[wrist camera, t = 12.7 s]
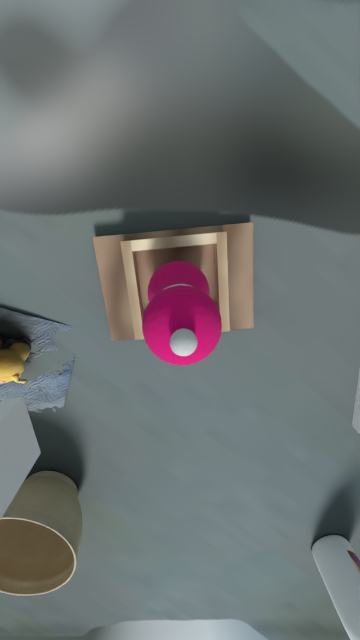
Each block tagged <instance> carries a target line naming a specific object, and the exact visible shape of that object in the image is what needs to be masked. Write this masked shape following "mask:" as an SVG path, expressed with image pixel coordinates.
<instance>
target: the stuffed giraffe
mask: <svg viewBox="0 0 360 640" xmlns="http://www.w3.org/2000/svg"><path fill="white" fill-rule="evenodd" d="M57 328H58V329H59V330H63V331H64V332H67V330H69V329H71V328H72V326H68V325H64V324H60V323H56V322H52V321H48V320H44V319H40V318H36V317H32V316H28V315H25V314H21V313H17V312H14V311H11V310H7V309H3V308H1V307H0V384H1V385H0V402H1V401H2V400H3V399H7V398H18V397H23V398H24V401H25V404H26V408H27V410H29V411H33V412H39V411H37V409H38V410H40V409H42V410H43V409H44V408H52V409H53V406H57V407H58V408H62V407H64V403H65V397H66V393H67V389H68V385H69V380H70V375H71V371H72V367H73V363H74V360H73V361H69V360H68V362H67V363H65V364H64V365H63V366H64V367H65V368H64V369H65V370H62V371H60V370H58V371H55V372H54V371H53V370H52V371H53V372H52V373H51V371H50V370H49V369H48V371H49V373H48V372H46V375H45V373H43V375H40V376H39V378H40V377H41V378H40V379H38V377H37V378H36V379H38V380H36V381H34V382H33V380H34V379H33V380H30V381H27V380H26V379H20V378H19V377H20V376H21V375H22V374H23V371H24V369H25V360H26V358H27V357H28V356H29V355H30V358H31V359H34V358H36V357H37V356H40V355H41V354H42V353H46V354H49V353H47V352H45V351H48V350H51V351H52V349H53V350H55V351H56V349H58V348H57V346H56V345H55V343H54V341H52V340H51V339H50V338H52V337H54V336H53V334H52V333H54V334H55V332H56V331H55V330H57ZM51 336H52V337H51ZM5 338H7V339H15V341H14V342H13V343H12V345H11V344H9V343H8V342H7V341H6V340H5ZM23 338H25V339H27V340H29V341H30V342H31V343H34V344H37V343H38V345H41V347H39V348H41V349H40V350H38V352H37V353H30V350H31V347H30V345H29V343H28V342H27V341H25V340H24V339H23ZM74 344H75V343H74ZM38 345H37V346H38ZM55 348H56V349H55ZM42 351H44V352H42ZM38 353H39V354H38ZM37 354H38V355H37ZM72 358H75V354H74V353H73V356H72ZM29 362H31V361H29ZM31 381H32V382H31ZM16 382H18V383H16ZM22 383H23V384H22ZM34 383H36V384H34ZM45 383H46V384H47V386H45ZM32 384H34V385H32ZM41 384H43V385H41ZM24 385H25V386H26V387H25V386H24ZM38 385H39V386H41V389H43V388H42V387H43V386H44V387H45V388H44V389H43V392H42V391H39V389H37V386H38ZM21 386H22V387H21ZM29 387H30V388H31V389H32V390H31V391H32V392H28V390H29V391H30V389H28V388H29ZM33 387H34V388H35V390H33ZM24 388H25V389H24ZM37 391H39V392H37ZM24 392H25V393H24ZM41 392H42V393H41ZM44 392H46V393H45V394H44ZM53 411H54V412H55V411H56V409H53ZM39 413H42V412H39Z"/></svg>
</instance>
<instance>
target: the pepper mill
mask: <svg viewBox="0 0 360 640" xmlns="http://www.w3.org/2000/svg"><path fill="white" fill-rule="evenodd" d="M148 300H149V303H148V305H147V307H146V309H145V311H144V314H143V319H142V331H143V336H144V339H145V342H146V344H147V345H148V347H149V349H150V350H151V351H152V352H153V354H155V355H156V356H157V357H158V358H160V359H161V360H163V361H165V362H167V363H170V364H174V365H188V364H192V363H196V362H198V361H201V360H202V359H204V358H205V357H207V356H208V355H209V354H210V353H211V352H212V351H213V350H214V348H215V347H216V345H217V343H218V342H219V339H220V336H221V330H222V322H221V315H220V312H219V309H218V307H217V305H216V304H215V302H214V301H213V300H212V298H211V297H210V290H209V285H208V281H207V279H206V277H205V275H204V274H203V272H202V271H201V270H200V269H199V268H198V267H196V266H195V265H193V264H191V263H188V262H184V261H173V262H169V263H166V264H164V265H163V266H161V267H160V268H158V269H157V270H156V271H155V273H154V274H153V275H152V277H151V279H150V281H149V285H148Z"/></svg>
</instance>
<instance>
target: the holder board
mask: <svg viewBox="0 0 360 640" xmlns="http://www.w3.org/2000/svg"><path fill="white" fill-rule="evenodd" d="M93 242H94V248H95V253H96V259H97V264H98V270H99V275H100V280H101V286H102V291H103V297H104V302H105V308H106V313H107V318H108V324H109V329H110V335H111V340H112V341H116V340H127V339H135V340H141V339H144V336H143V331H142V319H143V314H144V311H145V309H146V307H147V305H148V303H149V300H148V285H149V281H150V279H151V277H152V275H153V274H154V273H155V271H156V270H157V269H158V268H160V267H161V266H163V265H164V264H166V263H169V262H173V261H184V262H188V263H191V264H193V265H195V266H196V267H198V268H199V269H200V270H201V271H202V272H203V274H204V275H205V277H206V279H207V281H208V285H209V290H210V297H211V298H212V300H213V301H214V302H215V304H216V305H217V307H218V309H219V312H220V315H221V322H222V330H221V332H228V331H230V330H235V329H246V328H253V222H249V223H238V224H228V225H217V226H206V227H196V228H185V229H174V230H164V231H153V232H142V233H132V234H121V235H110V236H100V237H93Z"/></svg>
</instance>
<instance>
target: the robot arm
mask: <svg viewBox="0 0 360 640" xmlns="http://www.w3.org/2000/svg"><path fill="white" fill-rule="evenodd" d="M352 426H353V427H354V428H355V429H356V431H357V432H358V433H359V434H360V370H359V378H358V385H357V392H356V400H355V407H354V414H353V422H352ZM40 454H41V452H40V448H39V445H38V442H37V439H36V436H35V433H34V430H33V426H32V423H31V420H30V417H29V414H28V411H27V408H26V404H25V401H24V398H23V397H18V398H7V399H3V400H2V401H1V402H0V520H1V518H2V516H3V515H4V513H5V511H6V510H7V508H8V506H9V505H10V503H11V502H12V500H13V498H14V497H15V495H16V493H17V492H18V490H19V488H20V487H21V485H22V483H23V482H24V480H25V478H26V477H27V475H28V473H29V472H30V470H31V469H32V467H33V465H34V464H35V462H36V460H37V459H38V457H39V455H40Z"/></svg>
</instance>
